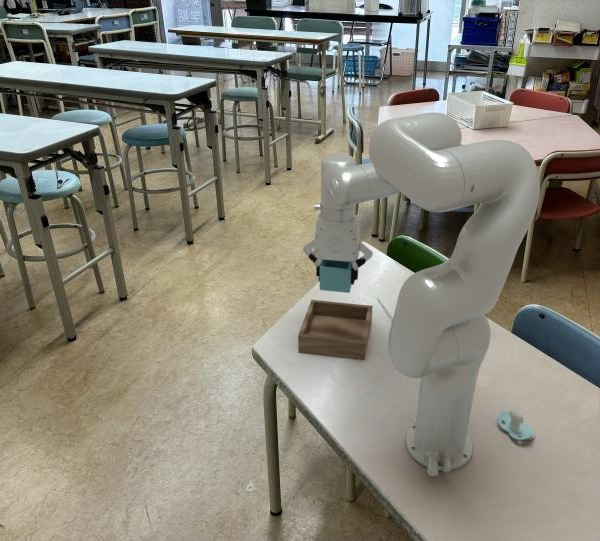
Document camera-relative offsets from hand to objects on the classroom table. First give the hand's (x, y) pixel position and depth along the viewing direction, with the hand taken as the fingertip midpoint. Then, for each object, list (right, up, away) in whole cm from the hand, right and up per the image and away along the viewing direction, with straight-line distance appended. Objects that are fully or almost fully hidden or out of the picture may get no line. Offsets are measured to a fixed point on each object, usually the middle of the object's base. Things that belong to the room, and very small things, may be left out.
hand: (337, 279), depth 129 cm
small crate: (0, -1, 0) cm, 1 cm away
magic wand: (+15, -10, +17) cm, 24 cm away
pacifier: (+35, -30, -20) cm, 50 cm away
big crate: (0, -14, +8) cm, 17 cm away
